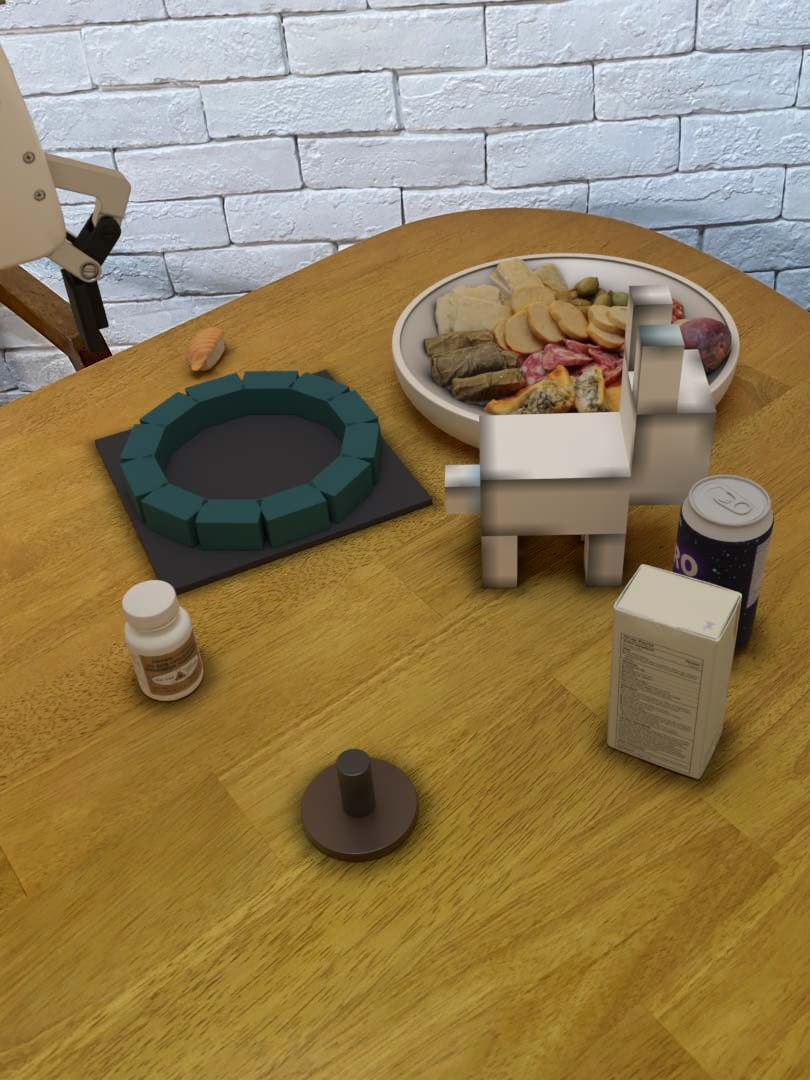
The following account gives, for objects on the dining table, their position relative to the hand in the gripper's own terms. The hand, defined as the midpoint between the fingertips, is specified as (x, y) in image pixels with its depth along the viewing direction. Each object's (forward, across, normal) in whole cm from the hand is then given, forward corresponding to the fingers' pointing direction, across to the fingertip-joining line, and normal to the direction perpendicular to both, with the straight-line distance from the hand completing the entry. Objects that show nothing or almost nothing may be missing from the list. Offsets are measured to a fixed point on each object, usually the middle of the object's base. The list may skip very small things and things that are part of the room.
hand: (0, 367), depth 59 cm
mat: (+26, -17, -19) cm, 37 cm away
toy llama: (+26, -34, +2) cm, 43 cm away
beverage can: (+26, -38, +14) cm, 48 cm away
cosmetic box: (+26, -30, +20) cm, 45 cm away
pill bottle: (+26, -4, 0) cm, 27 cm away
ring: (+26, -17, -19) cm, 36 cm away
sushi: (+26, -19, -38) cm, 50 cm away
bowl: (+26, -46, -18) cm, 56 cm away
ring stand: (+26, -11, +16) cm, 33 cm away
